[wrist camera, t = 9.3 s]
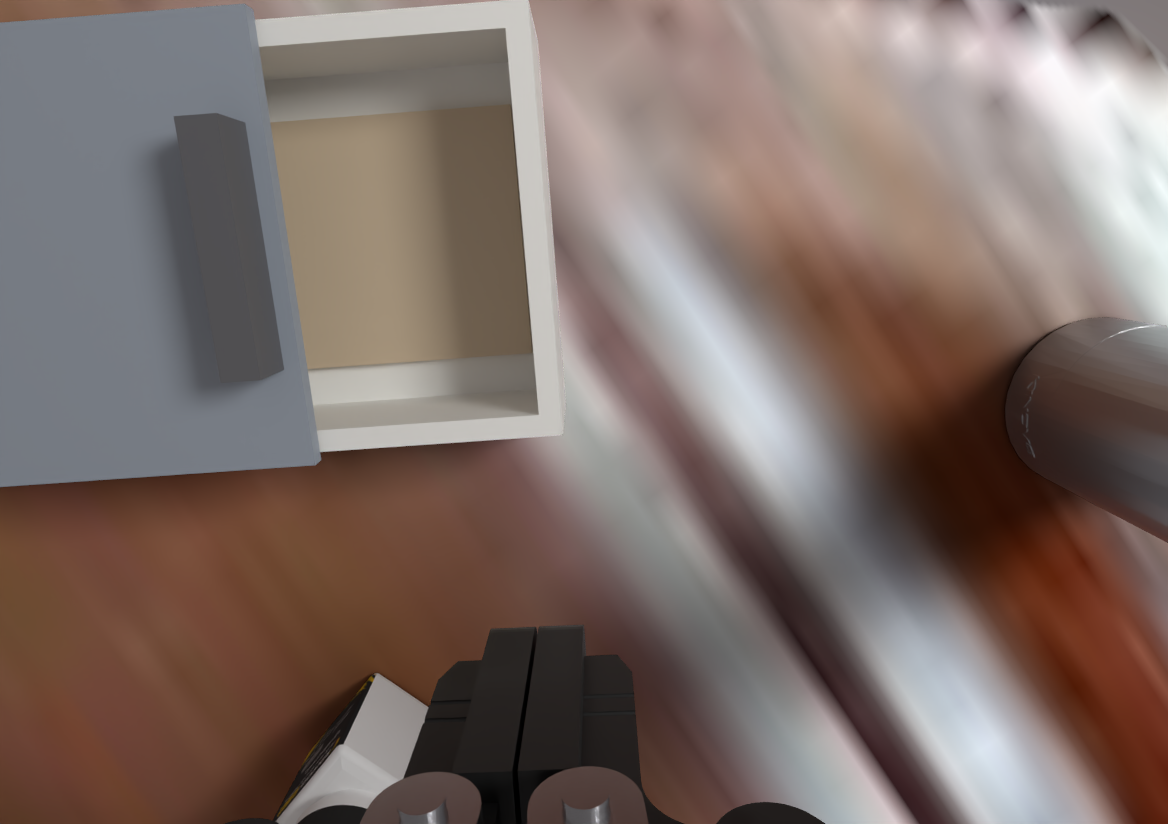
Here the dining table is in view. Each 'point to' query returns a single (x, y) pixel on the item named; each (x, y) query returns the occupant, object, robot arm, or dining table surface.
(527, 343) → the box
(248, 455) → the lid
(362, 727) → the medicine bottle
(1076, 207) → the dining table surface
